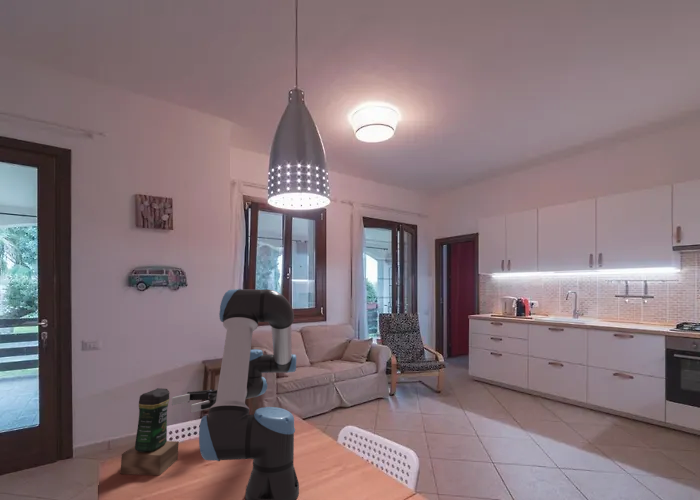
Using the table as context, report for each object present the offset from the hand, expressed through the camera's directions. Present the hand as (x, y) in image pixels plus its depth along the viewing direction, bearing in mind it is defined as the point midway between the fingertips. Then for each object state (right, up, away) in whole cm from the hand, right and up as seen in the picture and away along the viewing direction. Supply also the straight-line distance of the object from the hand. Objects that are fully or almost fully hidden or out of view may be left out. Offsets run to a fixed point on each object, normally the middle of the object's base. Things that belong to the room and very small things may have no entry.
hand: (181, 405), depth 132 cm
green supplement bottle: (-6, -11, -9) cm, 15 cm away
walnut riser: (-6, -17, -10) cm, 20 cm away
